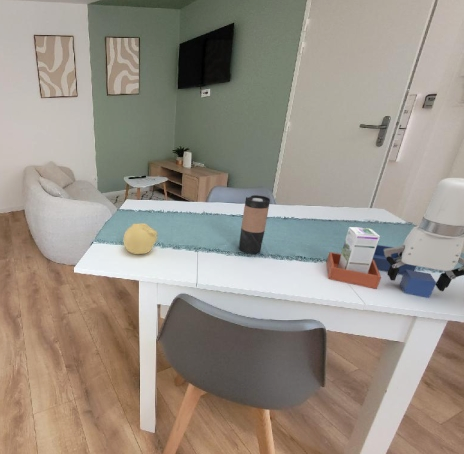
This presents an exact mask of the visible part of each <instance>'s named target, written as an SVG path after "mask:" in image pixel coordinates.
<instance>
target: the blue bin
mask: <svg viewBox="0 0 464 454" xmlns="http://www.w3.org/2000/svg"><path fill="white" fill-rule="evenodd" d="M387 248H394V246H388V245H381V244H377V247H376V250H375V253H374V256H373V259H372V260H374V261H375V263H376V266H377V268H378V271H382V272H388V270H389V268H390V266H391V264H390V263H389V262H388V261H387V260H386V258H385V255H384V252H383V250H384V249H387ZM391 257H392V258H393V259H395V258H398V257H399V256H398V253H393V254H391ZM398 268H399V272H398V274H399V275H404V272H405V270H412V271H416V269H417V266H414V265H409V264H405V265H402V266H400V267H398ZM398 274H397V275H398Z"/></svg>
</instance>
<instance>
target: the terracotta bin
mask: <svg viewBox="0 0 464 454" xmlns="http://www.w3.org/2000/svg"><path fill="white" fill-rule="evenodd" d="M340 256H341V253H338V252H331V251H329V253H328V256H327V259H326V269H327V277H328V278H327V279H328V280H333V281H336V282H342V283H347V284H351V285H357V286H361V287H366V288H370V289H374V290H377V289H378V287H379V284H380V282H381V280H382V275H381V273H380V270H378V268H377V266H376V263H375V261H374V260H372V262H371V265H370V268H369V271H368V273H362V272H356V271H351V270H346V269H341V268H337V267H338V263H339V260H340Z"/></svg>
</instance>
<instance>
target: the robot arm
mask: <svg viewBox="0 0 464 454" xmlns="http://www.w3.org/2000/svg"><path fill="white" fill-rule="evenodd" d="M393 247H394V246H393ZM463 248H464V178H463V177H446V178H442V179H441V180H440V181H439V182H438V183H437V185H436V187H435V189H434V191H433V194H432V197H430V201H429V203H428V205H427V207H426V209H425V212H424V213H423V216H422V219H421V221H420V223H419V226H414V227H412V229H410V231H409V233H408V234H407V236H406V237H405V239H404V241H403V242H402V244H401V246H395V247H394V248H387V249H384V250H383V252H384V255H385V258H386V260H387V261H388V262H389V263H390V264H391V266H390V268H389V270H388V271H387V273H386V274H387V277H389V280H390V281H391V282H394V281H396V278H397V277H398V272H399V268H398V267H400V266H402V265H405V264H409V265H414V266H416V267H420V268H425V269H430V270H434V271H435V270H436V271H441V272H442V273H440V275H439V277H438V279H437V281H436V285H435V287H436V288H437V290H439V292H444V291H445V289H447V288H448V287H449V286H450V284H451V282H452V280H456V278H459V277H462V276H464V258H463V257H462V255H461V254H462V252H463ZM393 253H398V256H399V257H398V258H395V259H393V258H392V257H391V254H393ZM457 264H460V265H462V266H461V267H457V268H456V266H457Z"/></svg>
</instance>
